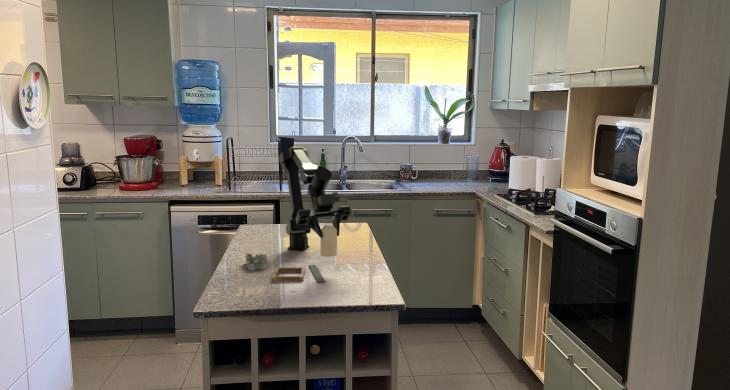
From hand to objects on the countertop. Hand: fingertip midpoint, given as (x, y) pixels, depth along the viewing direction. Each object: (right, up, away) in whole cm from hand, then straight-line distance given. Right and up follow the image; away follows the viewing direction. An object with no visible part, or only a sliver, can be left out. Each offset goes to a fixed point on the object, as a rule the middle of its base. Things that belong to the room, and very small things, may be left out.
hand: (330, 236), depth 171 cm
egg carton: (-27, -12, +12) cm, 32 cm away
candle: (-1, -6, +2) cm, 7 cm away
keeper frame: (-14, -13, 0) cm, 19 cm away
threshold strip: (-5, -13, +3) cm, 14 cm away
